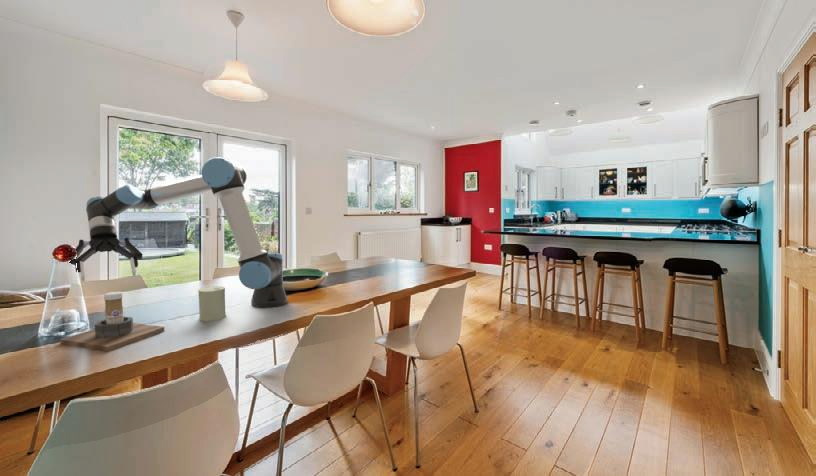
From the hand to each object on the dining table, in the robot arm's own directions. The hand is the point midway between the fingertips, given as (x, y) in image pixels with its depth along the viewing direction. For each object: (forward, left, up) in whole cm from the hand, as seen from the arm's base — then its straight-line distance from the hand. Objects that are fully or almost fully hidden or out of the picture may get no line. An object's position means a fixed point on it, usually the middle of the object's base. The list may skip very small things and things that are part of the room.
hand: (109, 276), depth 120 cm
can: (-23, -20, -19) cm, 36 cm away
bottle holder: (-9, +6, -19) cm, 22 cm away
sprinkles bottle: (-9, +6, -17) cm, 21 cm away
